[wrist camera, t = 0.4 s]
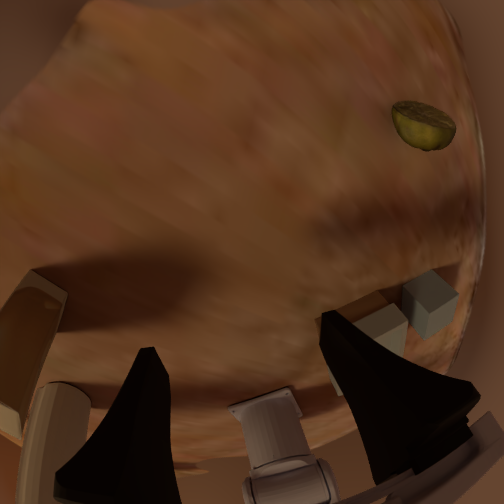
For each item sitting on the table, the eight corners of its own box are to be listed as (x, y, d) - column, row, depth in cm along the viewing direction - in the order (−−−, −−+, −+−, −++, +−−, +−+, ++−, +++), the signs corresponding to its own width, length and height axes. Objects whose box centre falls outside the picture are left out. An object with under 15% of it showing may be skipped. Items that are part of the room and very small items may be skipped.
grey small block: (428, 296, 29) (452, 321, 24) (400, 312, 29) (424, 340, 24) (431, 268, 26) (459, 293, 22) (402, 285, 26) (429, 313, 22)
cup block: (390, 348, 27) (401, 364, 25) (329, 378, 27) (338, 396, 25) (393, 302, 23) (408, 320, 21) (320, 337, 23) (332, 359, 21)
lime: (373, 115, 17) (418, 122, 13) (406, 81, 16) (452, 83, 12) (401, 157, 19) (444, 174, 15) (431, 123, 18) (474, 134, 14)
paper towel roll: (98, 397, 26) (92, 559, 8) (83, 411, 27) (76, 551, 9) (46, 369, 23) (18, 536, 4) (37, 387, 24) (14, 529, 6)
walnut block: (376, 330, 29) (388, 347, 27) (323, 356, 29) (332, 375, 27) (375, 287, 26) (391, 305, 23) (313, 316, 26) (324, 338, 23)
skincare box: (56, 334, 21) (22, 443, 10) (21, 313, 19) (-26, 415, 8) (70, 289, 19) (19, 416, 9) (29, 264, 17) (-40, 377, 7)
